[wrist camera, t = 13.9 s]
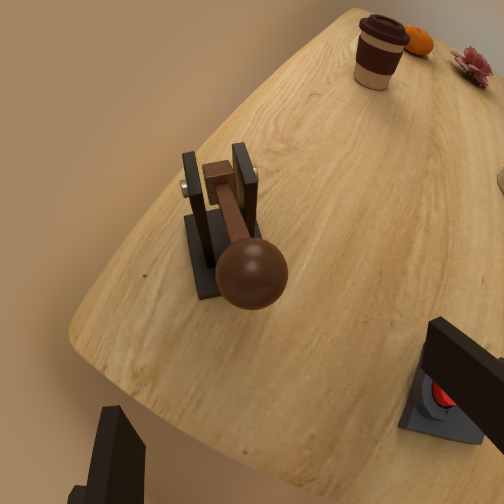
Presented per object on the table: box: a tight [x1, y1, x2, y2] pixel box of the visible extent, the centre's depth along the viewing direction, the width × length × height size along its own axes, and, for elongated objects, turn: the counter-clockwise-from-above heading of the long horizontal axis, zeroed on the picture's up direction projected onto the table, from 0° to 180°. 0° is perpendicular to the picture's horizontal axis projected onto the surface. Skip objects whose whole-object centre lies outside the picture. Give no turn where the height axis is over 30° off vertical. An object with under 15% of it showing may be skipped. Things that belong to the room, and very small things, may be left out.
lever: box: [202, 160, 288, 310], centre depth 20 cm, size 14×4×4 cm, turn 14°
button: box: [432, 381, 456, 406], centre depth 23 cm, size 4×4×2 cm
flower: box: [451, 46, 493, 88], centre depth 58 cm, size 15×15×10 cm
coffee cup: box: [354, 14, 411, 90], centre depth 46 cm, size 10×10×15 cm
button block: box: [398, 343, 485, 445], centre depth 25 cm, size 13×10×4 cm
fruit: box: [404, 26, 434, 55], centre depth 61 cm, size 10×11×8 cm
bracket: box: [181, 142, 262, 300], centre depth 28 cm, size 10×8×14 cm
